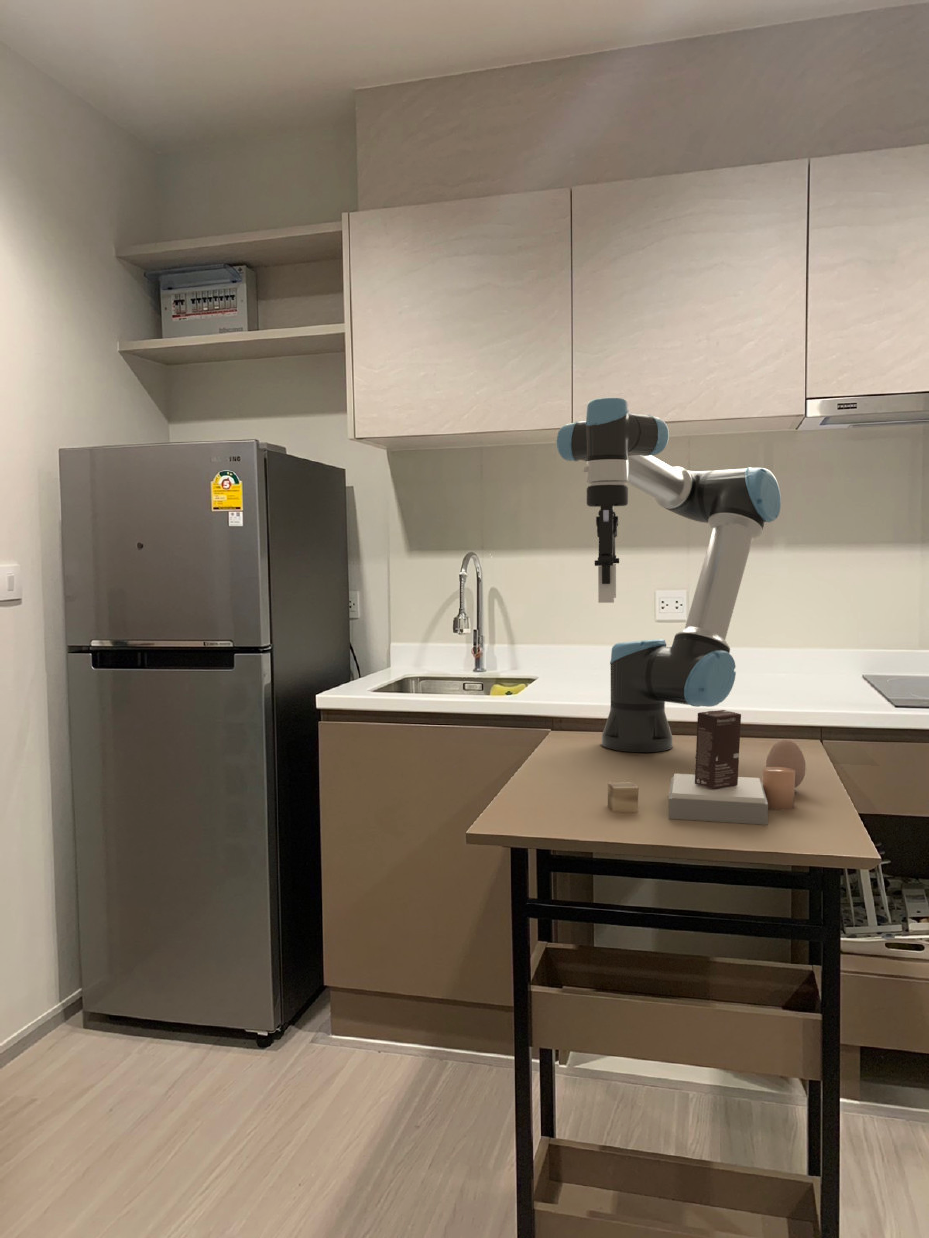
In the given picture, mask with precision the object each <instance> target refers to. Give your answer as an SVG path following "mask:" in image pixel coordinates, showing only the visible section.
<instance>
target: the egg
mask: <svg viewBox="0 0 929 1238" xmlns="http://www.w3.org/2000/svg"><path fill="white" fill-rule="evenodd" d="M766 767H784V768H790V769H793V770H795V789H796V788H797V787H799V785H800V784H801V783H802V782H803V780H804V778H805V775H806V769H807V767H806V760H805V756H804V755H803V752H802V750H801V748H800V746H799V745H798V744H797V743H796V742H794V741H793V740H791V739H788V738H787V739H781V740H778V741H777V742H776V743H775V744H773V746H772V747H771V749H770V751H769V753H768V754H767V758H766V763H765V768H766Z"/></svg>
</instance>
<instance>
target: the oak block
mask: <svg viewBox="0 0 929 1238" xmlns="http://www.w3.org/2000/svg"><path fill="white" fill-rule="evenodd" d="M607 807H609V809H610V810H611V812H613V813H630V812H631V813H632V812H636V813H637V812H639V787H638V786H637V785H635V784H634V783H633V782H632V781H622V782H621V781H618V782H617V781H616V782H607Z"/></svg>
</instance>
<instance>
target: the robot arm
mask: <svg viewBox="0 0 929 1238" xmlns="http://www.w3.org/2000/svg"><path fill="white" fill-rule="evenodd" d="M585 417H586V418H585V419H586V420H585V421H575V422H572V423H567V424H565V425H563V426H561V428H560V429H559V430H558V433H557V435H556V436H557V437H556V441H555V442H556V450H557V452H558V453H559V455H560V457H561V458H563V460H565V461H569V462H579V461H584V462H586V465H587V466H584V467H583V469H582V471H583V472H584V473H586V483H588V484H589V485H588V486H587V487H586V505H587V507H591V508H594V507H595V508H598V507H599V508H600V509H599V510H598V514H597V515H598V516H595V524H596V528H597V529H596V533H597V534H596V536H597V538H598V557H597V559H595V560H594V567H598V569H597V570H598V572H597V575H598V576H597V577H598V578H597V580H598V583H597V585H598V589H597V590H598V591H597V592H598V593H597V594H598V595H597V596H598V597H597V598H598V600H597V601H598V603H599V604H601V603H602V604H604V603H605V604H606V603H609V604H613V603H615V599H616V598H617V564H620V558H619V557H617V555H616V537H618V526H619V516H618V515H617V516H616V512H615V511H614V510H615V508H614V507H625V506H627V505H628V503H629V487H628V486H627V485H626V484H628V485H630V486H632V487H634V488H636V489H638V490H640V491H642V492H643V493H645V494H647V495H649V496H651V497H653V498H654V499H655V501H656V503H657V504H658V505H659V506H660V507H662V508H664V509H665V510H668V511H669V512H671V513H674V514H676V515H679V516H681V517H683V518H685V519H689V520H691V521H695V522H699V523H705V524H708V525H709V526H710V528H711V535H710V538H709V542H708V544H707V545H708V546H707V550H706V553H705V557H704V560H703V564H702V567H701V571H700V573H699V577H698V581H697V584H696V587H695V592H694V595H693V598H692V601H691V604H690V609H689V611H688V612H689V613H688V616H687V619H686V623H685V626H684V629H683V630H681V631H679V632H677V633H676V634H675V635H674V638H673V642H672V645H671V646H667V643H666V639H663V638H662V639H661V638H660V639H648V640H645V639H644V640H637V641H627V642H626V641H625V642H618V643H615V644H614V645H613V646H612V648H611V655H610V662H609V665H610V707H609V708H610V711H609V713H608V717H607V720H606V721H605V726H604V728H603V732H602V734H601V745H602V746H603V747H604V748H607V749H611V750H614V751H620V752H629V753H654V752H656V753H658V752H664V751H668V750H670V749H672V748H673V739H674V738H673V735H672V734H673V733H672V731H671V727H670V724H669V721H668V718H667V715H666V711H665V710H666V708H665V707H666V705H665V704H666V703H673V704H679V705H680V704H681V705H689V706H691V707H695V708H696V707H697V708H698V707H706V708H707V707H708V708H710V707H715V706H718V705H719V704H720V703H722V702H724V701H725V700H726V699H727V697H728V696H729V695H730V693H731V691H732V689H733V687H734V683H735V681H736V674H737V672H736V671H735V670H736V667H737V666H736V660H735V659H734V657H733V656H732V655H731V647H730V646H729V643H727V640H726V637H727V635H728V630H729V627H730V623H731V620H732V617H733V613H734V609H735V606H736V602H737V597H738V594H739V591H740V586H741V583H742V580H743V575H744V574H745V573H744V572H745V568H746V565H747V561H748V559H749V558H748V557H749V555H750V550H751V547H752V543H753V540H755V539H757V538H758V537H760V536H762V534H763V530H764V526H765V524H766V523H772V522H774V521H775V520H776V519H777V518H778V517H779V516H780V512H781V506H782V496H781V490H780V486H779V483H778V481H777V478H776V476H775V475H774V473H773V472H772V471H771V470H769V469H767V468H766V467H765V468H764V467H750V466H748V467H746V468H735V469H718V470H716V469H715V470H702V471H701V470H700V471H699V470H697V471H695V470H688V469H686V468H685V467H682V466H671V465H669V464H668V463H665V461H662V460H660V459H659V458H657V457H655V456H657V455H659V454H661V453H662V452H663V451H664V450H665V449H666V447H667V445H668V442H669V438H670V432H669V431H670V429H669V427H668V425H667V424H666V422H665V421H664V420H663V419H662V418H660V417H657V416H654V415H652V414H639V413H638V414H637V413H632V412H631V413H630V412H629V408H628V401H627V400H625V399H624V398H623V397H622V398H621V397H620V398H619V397H602V398H595V399H592V400H590V401H589V402H588V403H587V404H586V416H585Z"/></svg>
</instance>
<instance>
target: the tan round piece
mask: <svg viewBox="0 0 929 1238" xmlns="http://www.w3.org/2000/svg"><path fill="white" fill-rule="evenodd" d="M762 771H763V772H762V773H763V774H762V784H763V788H764V791H765V795H766V799H767V802H768V809H772V810H778V811H779V810H784V811H785V810H792V809H794V808H795V792H796V791H795V789H796V788H795V770H793V769H790V768H784V767H766V766H765V767H764V768H763V769H762Z"/></svg>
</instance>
